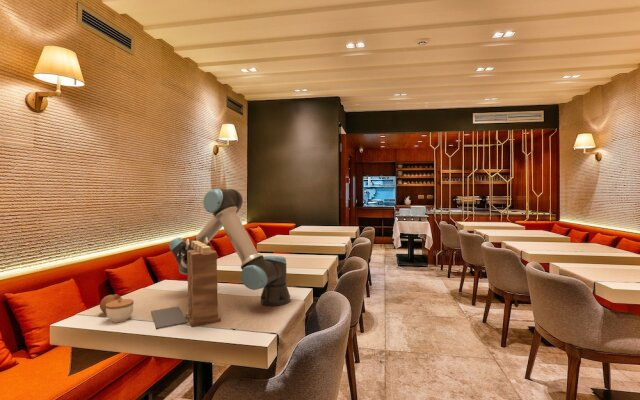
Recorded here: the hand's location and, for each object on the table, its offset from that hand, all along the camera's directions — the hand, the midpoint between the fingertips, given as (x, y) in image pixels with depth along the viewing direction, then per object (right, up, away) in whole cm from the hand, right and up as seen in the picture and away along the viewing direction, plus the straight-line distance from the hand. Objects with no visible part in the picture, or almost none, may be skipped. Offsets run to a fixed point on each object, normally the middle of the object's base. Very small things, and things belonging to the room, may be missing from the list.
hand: (197, 240), depth 154 cm
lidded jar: (-32, -35, -6) cm, 48 cm away
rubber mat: (-12, -34, -3) cm, 36 cm away
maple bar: (+3, -4, -4) cm, 6 cm away
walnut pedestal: (+5, -34, -6) cm, 35 cm away
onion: (-41, -35, +3) cm, 54 cm away
